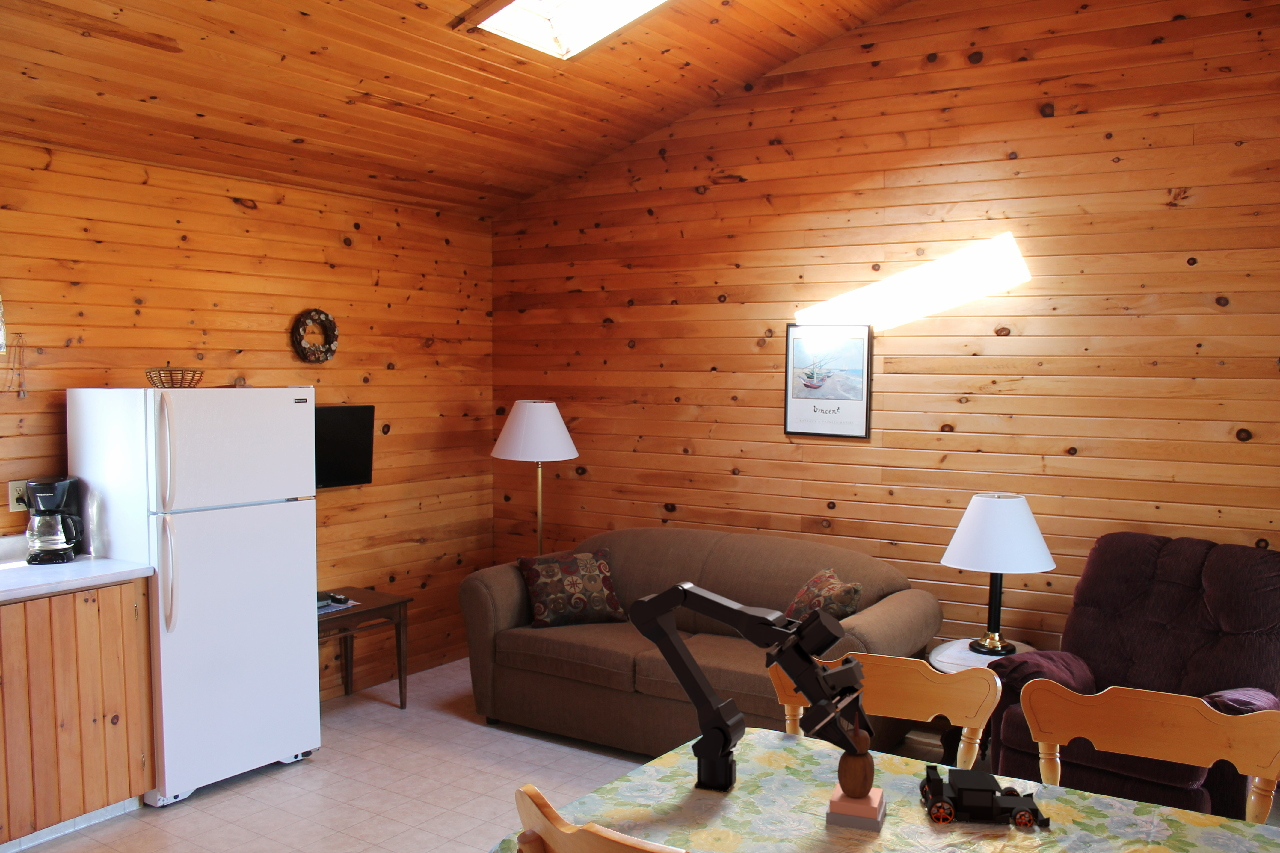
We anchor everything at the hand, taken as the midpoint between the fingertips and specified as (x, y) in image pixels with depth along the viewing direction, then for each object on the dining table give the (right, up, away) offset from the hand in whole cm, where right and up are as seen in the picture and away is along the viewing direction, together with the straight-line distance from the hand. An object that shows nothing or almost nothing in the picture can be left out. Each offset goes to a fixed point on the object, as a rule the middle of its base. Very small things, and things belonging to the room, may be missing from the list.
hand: (864, 744), depth 166 cm
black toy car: (+21, -14, +3) cm, 25 cm away
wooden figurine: (-1, -9, +1) cm, 9 cm away
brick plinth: (-1, -13, +1) cm, 13 cm away
